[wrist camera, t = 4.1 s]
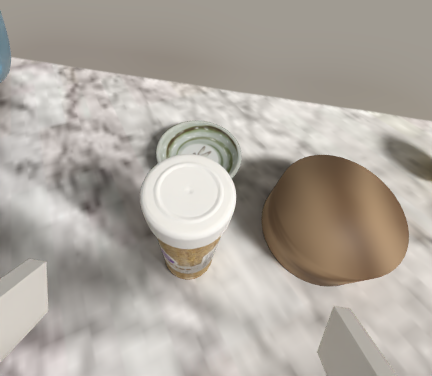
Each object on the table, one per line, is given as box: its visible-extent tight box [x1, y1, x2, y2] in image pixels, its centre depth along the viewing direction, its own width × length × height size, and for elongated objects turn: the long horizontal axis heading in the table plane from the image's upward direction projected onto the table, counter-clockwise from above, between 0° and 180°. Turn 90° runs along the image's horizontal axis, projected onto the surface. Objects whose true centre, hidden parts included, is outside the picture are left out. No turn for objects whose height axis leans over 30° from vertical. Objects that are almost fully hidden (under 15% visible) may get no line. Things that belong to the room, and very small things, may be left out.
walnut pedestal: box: [262, 155, 409, 286], centre depth 23 cm, size 12×12×5 cm
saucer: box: [156, 121, 242, 179], centre depth 27 cm, size 10×10×2 cm
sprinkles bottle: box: [140, 154, 236, 280], centre depth 16 cm, size 5×5×14 cm
